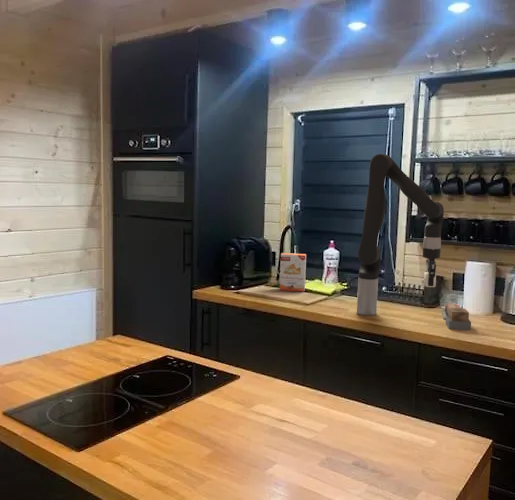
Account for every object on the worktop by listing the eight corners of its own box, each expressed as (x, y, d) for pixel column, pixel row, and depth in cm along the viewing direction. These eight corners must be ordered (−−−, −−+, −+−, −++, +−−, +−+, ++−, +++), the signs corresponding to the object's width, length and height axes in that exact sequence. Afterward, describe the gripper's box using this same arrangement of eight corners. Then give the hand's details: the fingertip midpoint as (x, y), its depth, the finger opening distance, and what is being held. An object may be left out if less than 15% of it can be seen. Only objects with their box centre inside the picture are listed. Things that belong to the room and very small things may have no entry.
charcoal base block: (448, 330, 242) (449, 321, 241) (445, 324, 250) (446, 315, 250) (470, 331, 240) (471, 322, 239) (466, 325, 249) (466, 317, 248)
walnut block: (451, 320, 242) (452, 311, 241) (448, 316, 248) (448, 307, 248) (468, 321, 241) (468, 312, 240) (464, 317, 248) (465, 308, 247)
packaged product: (441, 301, 273) (462, 303, 271) (440, 311, 274) (462, 313, 271) (444, 310, 256) (466, 312, 253) (443, 320, 256) (466, 322, 254)
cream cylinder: (424, 286, 246) (425, 273, 246) (423, 284, 251) (423, 271, 251) (436, 287, 246) (437, 274, 245) (434, 285, 251) (435, 272, 250)
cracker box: (279, 290, 311) (280, 254, 308) (280, 288, 317) (281, 252, 314) (304, 292, 309) (305, 255, 306) (305, 289, 315) (306, 253, 312)
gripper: (421, 244, 254) (419, 281, 256) (425, 248, 240) (423, 287, 242) (438, 245, 252) (436, 281, 255) (443, 249, 238) (441, 288, 241)
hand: (429, 284), depth 248 cm, fingers closed on cream cylinder, 5 cm apart
